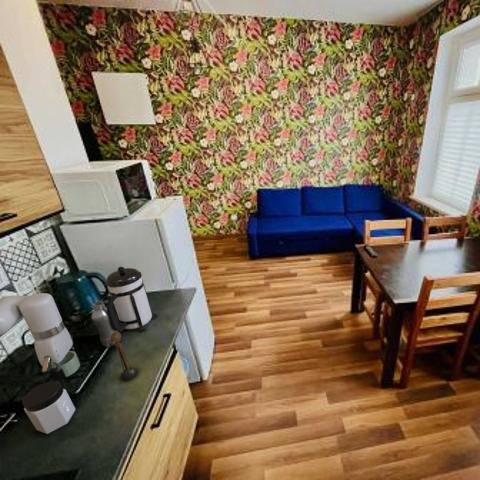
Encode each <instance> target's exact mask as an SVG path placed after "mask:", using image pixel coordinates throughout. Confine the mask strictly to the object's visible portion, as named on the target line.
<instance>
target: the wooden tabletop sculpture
mask: <svg viewBox="0 0 480 480" xmlns="http://www.w3.org/2000/svg"><path fill="white" fill-rule="evenodd" d="M110 339H111V344H110V347H114V346H115V347H116V350H117V352H118V355H119V358H120V362H121V367H122V372H121V374H120V378H121V380H122V382H130V381H132V380H134V379H135V378H136V377H137V375H138V370H137V369H136V368H135V367H133V366H132V365H131V363H130V362H129V360H128V358H127V356H126V353H125V350H124V348H123V345H122V342H121V340H122V334H121V332H119V331H118V332H114V333H113V334H112V335H111V338H110ZM114 344H115V345H114Z"/></svg>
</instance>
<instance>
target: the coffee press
mask: <svg viewBox="0 0 480 480" xmlns="http://www.w3.org/2000/svg"><path fill="white" fill-rule="evenodd" d="M142 276H143V274H142V272H141V271H139V270H138V269H137V268H133V267H124V266H119V267H118V268H117V269H116V270H114V271H113V272H111V273H110V274H108V275H107V276H106V279H105V281H104V284H105V286H106V287H107V291H108V294H109V296H110V297H109V299H108V300H107V303H106V307H107V312H108V316H109V318H110V321H111V324H112V326H113V328H114V329H115V330H117V331H118V332H119V333H122V332H123V331H124V330H133V329H138V328H139V331H140V332H141V333H142V332H145V327H144V326H145V325H146V324H148V323H149V322H150V321H151V319H155V318H156V317H157V314H156V313H154V312H153V310H152V308H151V304H150V300H149V297H148V293H147V289H146V286H145V283H144V280H143V279H142ZM113 308H114V309H113ZM114 311H115V312H114ZM115 313H116V314H115ZM153 315H154V316H153ZM116 316H117V317H116ZM118 322H119V323H118Z"/></svg>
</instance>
